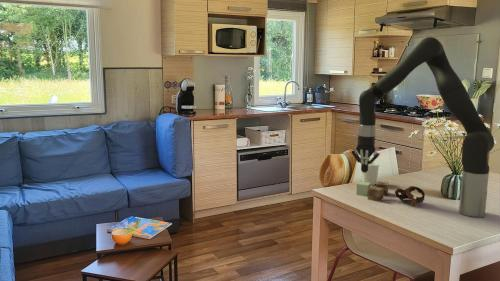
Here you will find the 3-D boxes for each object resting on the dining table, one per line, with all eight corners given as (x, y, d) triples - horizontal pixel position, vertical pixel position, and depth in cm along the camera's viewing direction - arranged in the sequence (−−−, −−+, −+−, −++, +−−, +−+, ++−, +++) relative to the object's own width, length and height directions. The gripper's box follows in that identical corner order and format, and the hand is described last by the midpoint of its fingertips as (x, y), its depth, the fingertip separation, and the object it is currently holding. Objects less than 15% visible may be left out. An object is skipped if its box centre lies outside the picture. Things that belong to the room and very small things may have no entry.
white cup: (360, 184, 218) (361, 165, 216) (361, 180, 225) (362, 161, 224) (377, 186, 216) (378, 166, 214) (377, 182, 223) (378, 162, 221)
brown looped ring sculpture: (418, 200, 195) (425, 187, 190) (419, 215, 188) (427, 202, 183) (391, 192, 196) (398, 179, 191) (391, 207, 189) (399, 194, 184)
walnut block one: (387, 192, 205) (388, 182, 204) (386, 195, 200) (387, 184, 199) (376, 191, 207) (377, 180, 206) (375, 194, 202) (376, 183, 201)
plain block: (370, 193, 204) (371, 183, 203) (367, 196, 200) (367, 185, 199) (359, 191, 206) (360, 181, 206) (356, 194, 202) (356, 183, 201)
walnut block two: (383, 199, 196) (383, 187, 195) (378, 201, 192) (379, 190, 191) (372, 196, 199) (373, 185, 198) (367, 199, 195) (368, 188, 194)
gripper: (383, 134, 198) (381, 172, 201) (355, 132, 205) (353, 168, 208) (378, 137, 192) (376, 176, 195) (349, 134, 199) (347, 171, 202)
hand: (364, 172), depth 201 cm, fingers closed
